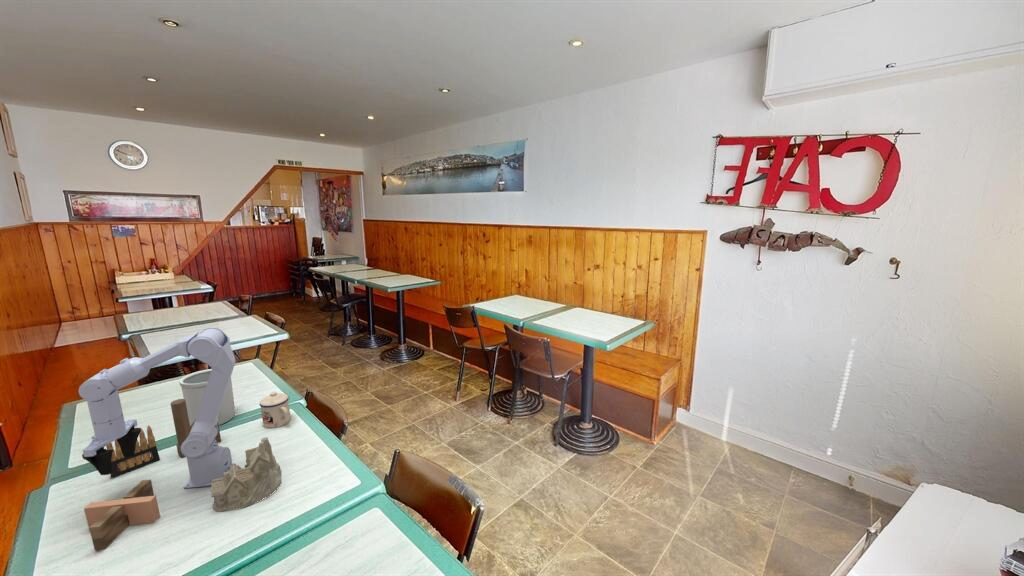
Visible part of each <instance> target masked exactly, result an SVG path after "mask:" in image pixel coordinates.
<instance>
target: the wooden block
mask: <svg viewBox="0 0 1024 576" xmlns="http://www.w3.org/2000/svg"><path fill="white" fill-rule="evenodd" d="M170 408H171V409H170V410H171V414H172V418H173V425H174V428H175V435H176V436H175V437H176V439H177V443H176V450H177V454H178V455H179V456H180V457H181V458H185V456H184V455H183V454H182V452H181V445H182V443H183V442H184V441H185V440H186V439H187V437H188V436H189V434H190V431H191V429H192V427H193V425H194V423H195V421H196V419H195V421H194V422H193V423H192V425H191V426H190V423H189V417H188V412H187V406H186V400H185V399H184V398H179V399H175V400H173V401H171V402H170ZM217 426H218V434H217V436H216V437H215V440H216V441H217V443H218V444H219V443H221V442H222V438H221V432H220V425H219V424H218V422H217Z"/></svg>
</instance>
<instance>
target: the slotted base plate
mask: <svg viewBox="0 0 1024 576" xmlns="http://www.w3.org/2000/svg"><path fill="white" fill-rule="evenodd" d="M152 484H153V483H152V479H142V480H141V481H139V483H137V484H136V485H135V486H134V487H133V488H131V490H129V491H128V492H127V494H125V495H124V496H123V497H122V499H128V498H137V497H146V496H155V494H154V488H153V485H152ZM129 526H130V524H129V519H128V515H124V513H123V508H122V506H116V507H112V508H111V509H110V510H108V511H107V512H106V513H105V514H104V515H103V516H102V517H101V518H99V519H98V520H97V521H96V522H95V523H94V524H93V525H92V526H91V527H88V530H89V529H90V530H89V533H90V536H91V541H92V544H93V549H94V551H101V550H106V549H107V548H108V547H109V546H110V545H111V544H112V543H113V542H114V540H116V539H117V537H118V536H120V535H121V534H122V532H124V530H125V529H126V528H128V527H129Z"/></svg>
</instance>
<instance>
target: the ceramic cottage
mask: <svg viewBox="0 0 1024 576" xmlns="http://www.w3.org/2000/svg"><path fill="white" fill-rule="evenodd" d="M260 441H261V442H259V443H258V446H256V447H254V448H249V449H246V450H245V451H244V453H245V464H244V468H242V467H240V466H239V465H238V464H236V463H234V462H232V466H231V468H230V469H229V471H228V472H224V473H223V478H220V479H213V480H212V483H211V487H210V488H211V489H210V492H211V495H210V496H211V498H213V505H212V510H213V511H214V512H216V513H217V512H223V511H226V512H227V511H228V512H229V511H233V510H240V509H243V508H246V506H247V507H248V505H250V506H252V505H254V504H256V503H255V502H257V501H259V502H261V501H263V500H264V499H263V498H265V497H266V498H269V497H270V496H269V495H270V494H272V493H273V492H274V491H275V490H276V491H278V489H279V488H280V487H281V485H282V470H281V466H280V465H279V463H277V460H276V457H275V455H274V454H273V451H272V450H273V449H272V445H271V442H270V440H269V437H267V436H265V437H262V438H261V440H260ZM280 484H281V485H280ZM279 486H280V487H279ZM278 487H279V488H278ZM277 488H278V489H277ZM276 491H275V492H276ZM275 492H274V493H275ZM274 493H273V494H274ZM273 494H272V495H273ZM268 496H269V497H268ZM266 498H265V499H266ZM262 499H263V500H262ZM260 500H261V501H260ZM253 503H254V504H253ZM257 503H258V502H257ZM251 504H252V505H251ZM239 508H240V509H239Z"/></svg>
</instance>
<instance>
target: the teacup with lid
mask: <svg viewBox="0 0 1024 576" xmlns="http://www.w3.org/2000/svg"><path fill="white" fill-rule="evenodd" d="M289 400H290V398H289V396H288V394H286V393H279V392H276V391H272V392H270V393H269V395H267V396H265V397H263V398H262V399H261V400H259V406H260V410H261V411H260V412H261V419H262V425H263V427H264V428H268V429H274V428H278V427H279V428H280V427H282V426H285V425H286V424H288V423H289V422H290V420H291V411H290V404H289Z"/></svg>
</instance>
